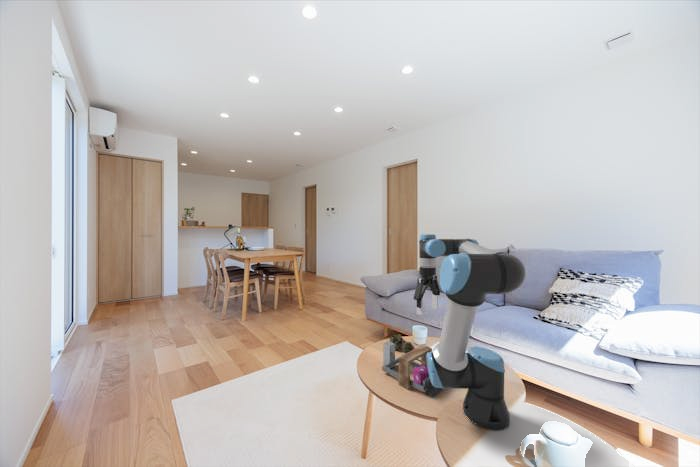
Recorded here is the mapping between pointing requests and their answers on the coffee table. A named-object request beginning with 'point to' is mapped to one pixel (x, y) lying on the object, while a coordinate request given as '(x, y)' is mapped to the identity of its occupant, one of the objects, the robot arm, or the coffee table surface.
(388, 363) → the sled
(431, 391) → the pit tray
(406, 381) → the tunnel
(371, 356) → the coffee table surface
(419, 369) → the puzzle toy
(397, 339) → the rock
